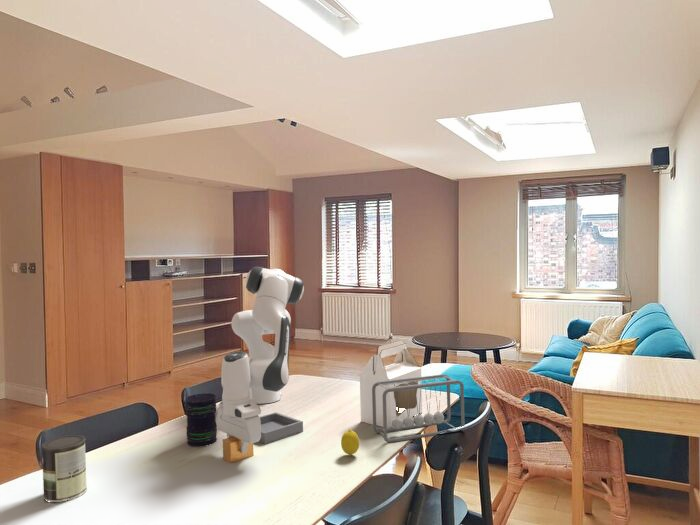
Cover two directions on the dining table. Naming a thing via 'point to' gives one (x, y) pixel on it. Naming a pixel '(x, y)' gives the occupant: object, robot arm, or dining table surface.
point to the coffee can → (64, 468)
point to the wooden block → (235, 450)
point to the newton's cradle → (418, 419)
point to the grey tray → (278, 427)
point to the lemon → (350, 442)
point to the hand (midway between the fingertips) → (238, 450)
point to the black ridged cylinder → (201, 420)
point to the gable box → (398, 370)
